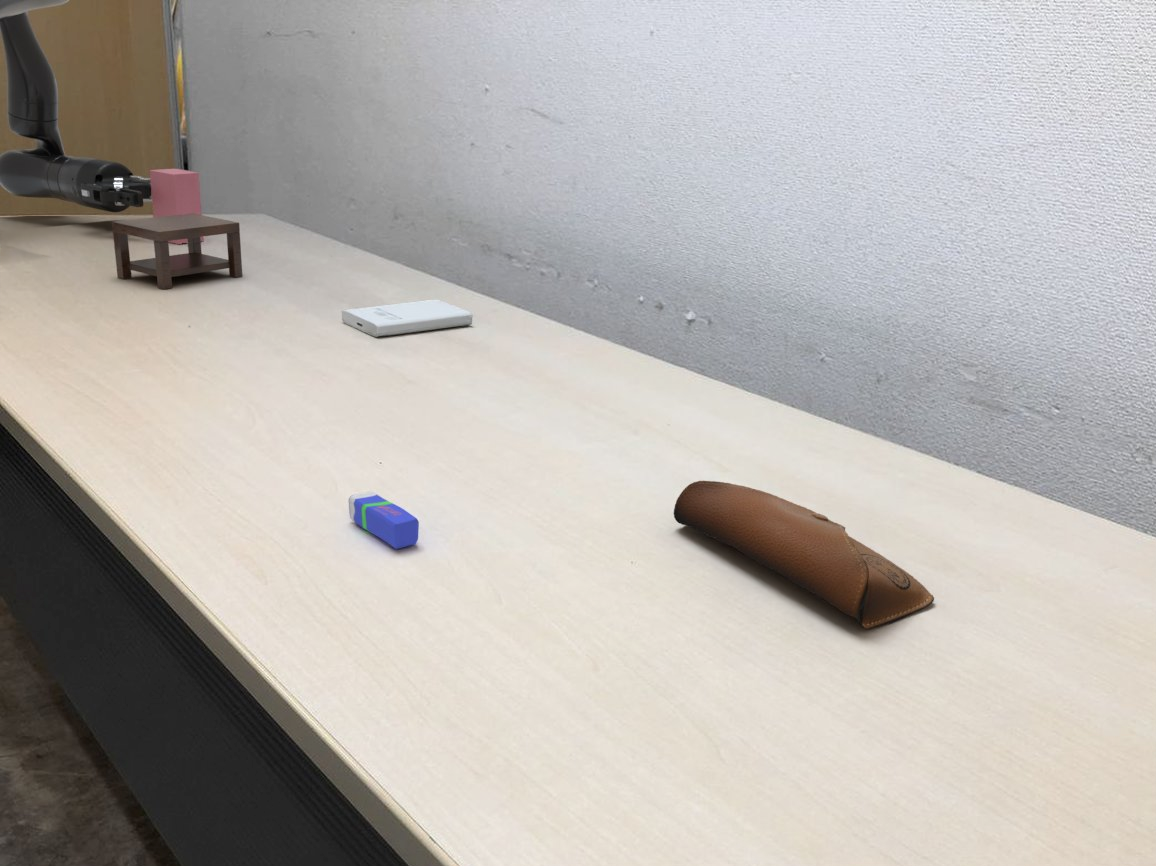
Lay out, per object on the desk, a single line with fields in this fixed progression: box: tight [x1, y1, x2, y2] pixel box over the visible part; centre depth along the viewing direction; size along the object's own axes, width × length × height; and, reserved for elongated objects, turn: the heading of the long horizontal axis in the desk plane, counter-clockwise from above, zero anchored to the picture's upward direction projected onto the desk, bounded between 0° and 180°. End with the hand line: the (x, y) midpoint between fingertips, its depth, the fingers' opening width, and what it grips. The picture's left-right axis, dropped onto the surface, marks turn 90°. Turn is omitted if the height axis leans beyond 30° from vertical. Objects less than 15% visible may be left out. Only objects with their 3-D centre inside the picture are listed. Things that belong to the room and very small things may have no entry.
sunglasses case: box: [673, 480, 935, 631], centre depth 76 cm, size 18×7×7 cm
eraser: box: [348, 490, 420, 550], centre depth 76 cm, size 2×6×2 cm, turn 42°
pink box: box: [149, 168, 204, 245], centre depth 165 cm, size 4×5×10 cm
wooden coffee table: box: [111, 213, 243, 290], centre depth 143 cm, size 12×9×7 cm
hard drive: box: [341, 298, 473, 338], centre depth 130 cm, size 2×8×12 cm
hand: (166, 197), depth 165 cm, fingers open, 8 cm apart
